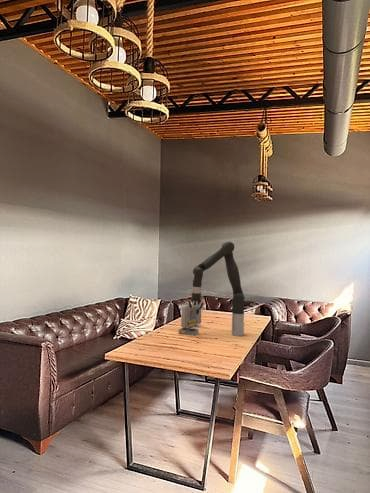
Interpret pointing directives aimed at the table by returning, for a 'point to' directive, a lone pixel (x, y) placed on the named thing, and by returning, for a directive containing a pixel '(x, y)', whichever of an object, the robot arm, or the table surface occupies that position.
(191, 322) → the network device
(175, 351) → the table surface
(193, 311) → the rectangular block
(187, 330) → the rack
